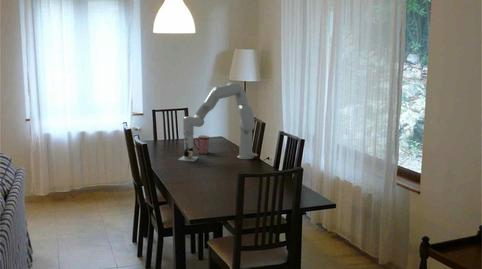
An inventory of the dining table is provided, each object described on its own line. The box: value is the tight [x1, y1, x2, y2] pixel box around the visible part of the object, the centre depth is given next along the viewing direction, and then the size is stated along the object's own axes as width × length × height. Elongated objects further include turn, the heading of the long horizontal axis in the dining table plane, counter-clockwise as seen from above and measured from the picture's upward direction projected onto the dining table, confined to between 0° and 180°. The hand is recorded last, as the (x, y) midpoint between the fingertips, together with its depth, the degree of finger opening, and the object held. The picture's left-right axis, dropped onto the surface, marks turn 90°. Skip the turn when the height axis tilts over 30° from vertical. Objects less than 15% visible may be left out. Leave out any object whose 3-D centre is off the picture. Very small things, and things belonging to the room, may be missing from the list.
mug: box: [194, 135, 210, 155], centre depth 411 cm, size 13×9×14 cm
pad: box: [177, 155, 199, 162], centre depth 391 cm, size 12×12×1 cm
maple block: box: [184, 150, 194, 159], centre depth 391 cm, size 5×5×5 cm
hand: (188, 155), depth 391 cm, fingers open, 9 cm apart
